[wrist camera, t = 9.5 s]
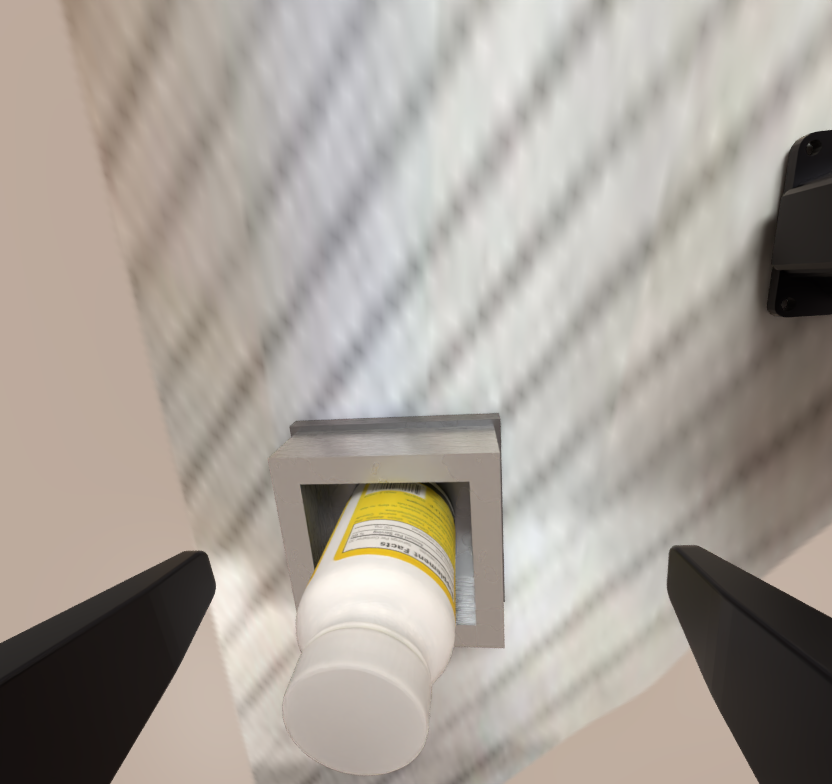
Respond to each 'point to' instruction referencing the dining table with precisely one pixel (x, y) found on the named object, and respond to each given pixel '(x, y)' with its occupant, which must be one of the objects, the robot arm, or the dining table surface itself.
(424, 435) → the socket collar
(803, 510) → the dining table surface
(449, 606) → the supplement bottle
